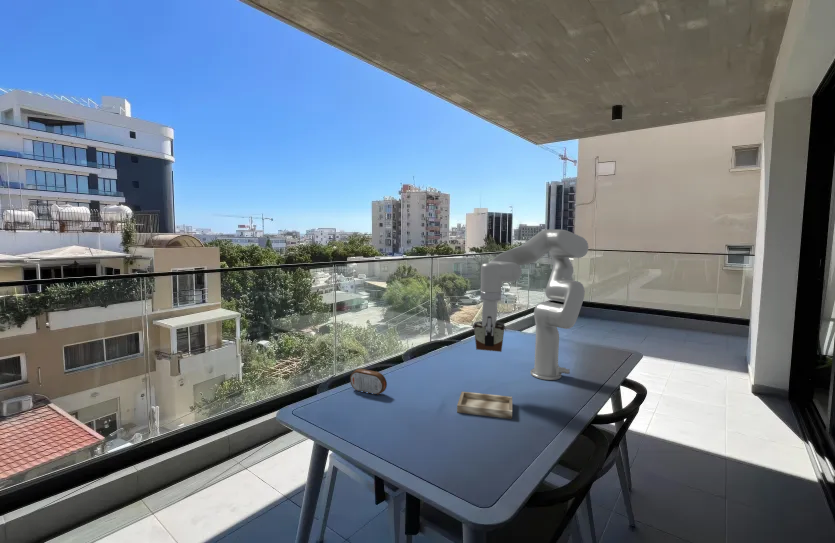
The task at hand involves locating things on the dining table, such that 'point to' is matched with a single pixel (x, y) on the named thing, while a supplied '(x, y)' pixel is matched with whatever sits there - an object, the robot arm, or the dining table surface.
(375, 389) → the tin
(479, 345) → the food container
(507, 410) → the holder tray
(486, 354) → the dining table surface
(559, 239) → the robot arm
